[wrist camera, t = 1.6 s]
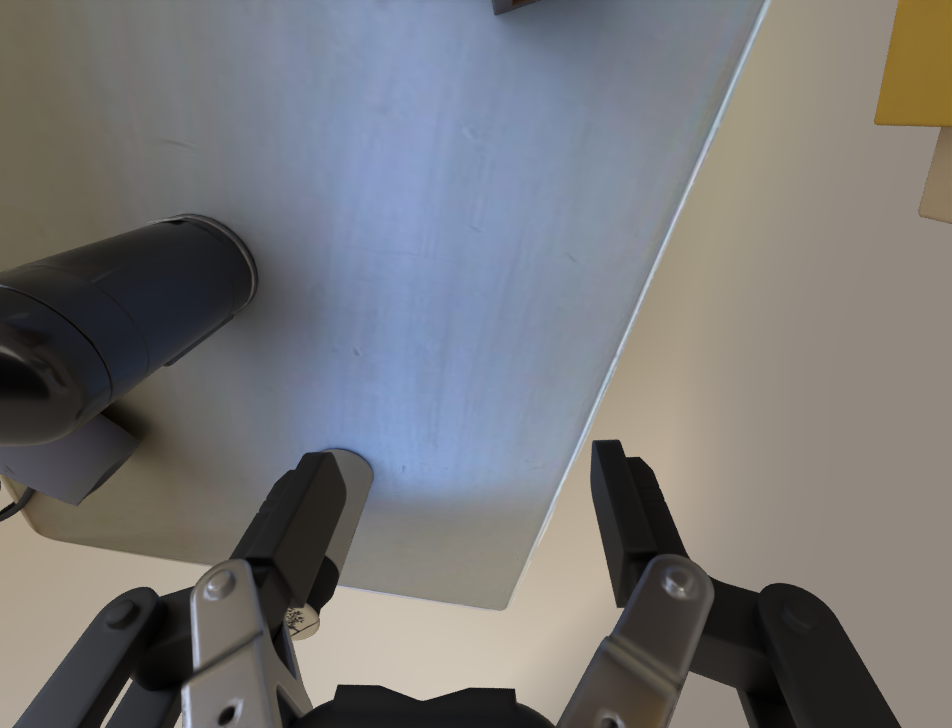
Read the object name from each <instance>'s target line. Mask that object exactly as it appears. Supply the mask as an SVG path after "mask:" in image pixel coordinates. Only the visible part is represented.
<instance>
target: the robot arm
mask: <svg viewBox="0 0 952 728" xmlns="http://www.w3.org/2000/svg"><path fill="white" fill-rule="evenodd" d="M161 221H162V222H161ZM152 222H159V223H156V224H153V225H150V226H146V227H143V228H139V229H136V230H133V231H130V232H127V233H123V234H120V235H117V236H114V237H111V238H108V239H104V240H101V241H98V242H95V243H92V244H89V245H85V246H82V247H79V248H76V249H73V250H69V251H66V252H63V253H60V254H57V255H54V256H50V257H47V258H44V259H41V260H38V261H35V262H31V263H28V264H25V265H22V266H19V267H16V268H13V269H10V270H7V271H3V272H0V446H34V445H41V444H46V443H50V442H53V441H56V440H59V439H61V438H64V437H66V436H68V435H70V434H71V433H73V432H75V431H76V430H78V429H79V428H81V427H82V426H83V425H85V424H86V423H87V422H89V421H90V420H91V419H93V418H94V417H95V416H97V415H98V414H99V413H101V412H102V411H103V410H104V409H106V408H107V407H108V406H110V405H111V404H112V403H114V402H115V401H116V400H118V399H119V398H120V397H122V396H123V395H124V394H126V393H127V392H128V391H130V390H131V389H132V388H134V387H135V386H136V385H137V384H139V383H140V382H142V381H143V380H144V379H146V378H147V377H148V376H150V375H151V374H152V373H154V372H155V371H156V370H158V369H159V368H160V367H162V366H170V365H172V364H174V363H175V362H176V361H178V360H179V359H180V358H182V357H183V356H184V355H185V354H187V353H188V352H189V351H191V350H192V349H193V348H195V347H196V346H197V345H199V344H200V343H201V342H203V341H204V340H205V339H206V338H208V337H209V336H210V335H212V334H213V333H214V332H216V331H217V330H218V329H220V328H221V327H222V326H224V325H225V324H226V323H227V322H229V321H230V320H231V319H233V316H234V313H236V312H238V311H239V310H241V309H242V308H243V307H245V306H246V305H247V304H248V303H249V302H250V301H251V300H252V298H253V297H254V295H255V292H256V289H257V272H256V268H255V264H254V262H253V259H252V257H251V255H250V253H249V252H248V250H247V248H246V247H245V246H244V244H243V243H242V242H241V241H240V240H239V238H238V237H237V236H236V235H235V234H233V233H232V232H231V231H230V230H229V229H227V228H226V227H225V226H223V225H221V224H220V223H218V222H216V221H214V220H212V219H209V218H207V217H204V216H200V215H194V214H182V215H177V216H174V217H171V218H168V219H162V220H153V221H149V222H146V223H152ZM590 481H591V492H592V498H593V503H594V507H595V511H596V516H597V521H598V525H599V530H600V534H601V538H602V543H603V547H604V552H605V556H606V560H607V565H608V569H609V574H610V579H611V583H612V587H613V592H614V596H615V601H616V605H617V608H625V609H624V611H623V612H622V615H621V616H620V618H619V620H618V622H617V624H616V626H615V628H614V630H613V631H612V633H611V634H610V635H609V636H606V637H605V638H604V639H603V640H602V642H601V643H600V645H599V647H598V648H597V650H596V652H595V654H594V656H593V658H592V660H591V661H590V663H589V665H588V667H587V669H586V671H585V673H584V675H583V676H582V678H581V680H580V682H579V684H578V686H577V688H576V689H575V692H574V693H573V695H572V697H571V699H570V701H569V703H568V704H567V706H566V708H565V710H564V712H563V714H562V716H561V718H560V720H559V721H558V723H557V725H556V726H554V725H553V724H552V723H551V722H550V721H549V720H548V719H547V718H545V717H544V716H543V715H541V714H540V713H538V712H537V711H535V710H533V709H531V708H530V707H528V706H526V705H523V704H520V703H517V701H516V694H515V689H508V688H507V689H506V688H467V689H464V690H460V691H457V692H453V693H450V694H446V695H443V696H440V697H437V698H433V699H429V700H425V701H420V700H416V699H414V698H411V697H409V696H406V695H403V694H401V693H398V692H396V691H393V690H390V689H387V688H385V687H382V686H380V685H338V686H337V689H336V693H335V696H334V699H333V700H331V701H328V702H326V703H324V704H322V705H320V706H318V707H316V708H314V709H313V706H312V704H311V702H310V699H309V697H308V695H307V693H306V691H305V688H304V685H303V682H302V678H301V674H300V670H299V666H298V662H297V658H296V655H295V650H294V647H293V643H292V639H291V635H290V631H289V627H288V623H287V621H286V619H285V618H284V616H285V614H286V611H287V609H288V608H304V606H305V603H306V601H307V598H308V596H309V593H310V591H311V588H312V586H313V583H314V581H315V578H316V576H317V573H318V571H319V568H320V566H321V563H322V561H323V558H324V556H325V553H326V551H327V548H328V546H329V543H330V541H331V538H332V536H333V533H334V531H335V528H336V526H337V523H338V521H339V518H340V516H341V513H342V511H343V508H344V506H345V503H346V497H347V490H346V485H345V482H344V479H343V477H342V474H341V472H340V469H339V467H338V464H337V461H336V459H335V456H334V455H333V453H332V452H312V453H306V454H304V455H303V457H302V458H301V460H300V462H299V464H298V465H297V467H296V469H295V470H289V471H288V472H287V473H286V474H285V475H284V476H282V477H281V478H280V479H279V480H278V481H277V482H276V483H275V484H274V486H273V488H272V489H271V491H270V493H269V494H268V496H267V499H266V501H264V502H263V504H262V506H261V507H260V509H259V513H257V514H256V516H255V517H254V519H253V521H252V522H251V524H250V525H249V527H248V529H247V530H246V532H245V534H244V535H243V537H242V539H241V540H240V542H239V544H238V545H237V547H236V548H235V550H234V552H233V553H232V555H231V557H230V558H229V560H226V561H223V562H221V563H219V564H217V565H215V566H214V567H212V568H211V569H210V570H208V571H207V572H206V573H205V574H204V575H203V576H202V577H201V578H200V579H199V580H198V582H197V583H196V585H195V586H193V587H189V588H186V589H183V590H180V591H177V592H174V593H170V594H167V595H164V596H161V597H159V596H158V595H157V593H156V592H155V591H154V590H153V589H151V588H149V587H139V588H135V589H132V590H129V591H127V592H125V593H123V594H121V595H120V596H118V597H116V598H115V599H114V600H112V601H111V602H110V603H109V604H107V605H106V606H105V607H104V608H103V609H102V610H101V611H100V612H99V614H98V615H97V616H96V617H95V618H94V620H93V621H92V622H91V624H90V625H89V627H88V628H87V629H86V630H85V632H84V633H83V634H82V636H81V637H80V638H79V640H78V641H77V643H76V644H75V645H74V647H73V648H72V649H71V650H70V652H69V653H68V654H67V656H66V657H65V659H64V660H63V661H62V662H61V664H60V665H59V666H58V668H57V669H56V670H55V672H54V673H53V674H52V676H51V677H50V678H49V680H48V681H47V683H46V684H45V685H44V687H43V688H42V689H41V690H40V692H39V693H38V695H37V696H36V697H35V698H34V700H33V701H32V702H31V704H30V705H29V707H28V708H27V709H26V710H25V712H24V713H23V714H22V716H21V717H20V718H19V720H18V721H17V722H16V724H15V725H14V727H13V728H100V726H101V724H102V722H103V720H104V718H105V716H106V715H107V713H108V712H109V710H110V708H111V707H112V705H113V703H114V702H115V700H116V698H117V697H118V695H119V693H120V692H121V690H122V689H123V687H124V685H125V684H126V682H127V680H128V679H129V677H130V678H131V679H132V680H133V682H132V683H131V685H130V687H129V688H128V690H127V692H126V694H125V695H124V697H123V698H122V700H121V702H120V703H119V705H118V707H117V708H116V710H115V712H114V713H113V715H112V717H111V719H110V720H109V722H108V723H107V725H106V727H105V728H174V726H175V724H176V722H177V720H178V717H179V715H180V713H181V711H182V728H668V727H669V724H670V721H671V718H672V716H673V713H674V710H675V707H676V705H677V702H678V699H679V697H680V694H681V691H682V688H683V686H684V683H685V680H686V677H687V675H688V672H689V671H691V672H694V673H696V674H699V675H702V676H704V677H707V678H710V679H713V680H715V681H718V682H720V683H723V684H726V685H729V686H731V687H734V688H736V689H737V692H738V695H739V698H740V701H741V704H742V707H743V710H744V713H745V715H746V718H747V721H748V724H749V727H750V728H901V726H900V725H899V723H898V721H897V719H896V718H895V716H894V714H893V712H892V711H891V709H890V707H889V706H888V704H887V702H886V701H885V699H884V697H883V695H882V694H881V692H880V691H879V689H878V687H877V685H876V684H875V682H874V680H873V679H872V677H871V675H870V673H869V672H868V670H867V668H866V666H865V665H864V663H863V662H862V660H861V658H860V656H859V655H858V653H857V651H856V649H855V648H854V646H853V644H852V643H851V641H850V640H849V637H848V636H847V634H846V632H845V631H844V629H843V627H842V626H841V624H840V622H839V620H838V619H837V617H836V616H835V614H834V613H833V612H832V611H831V609H830V608H829V607H828V606H827V605H826V604H825V603H824V602H823V601H821V600H820V599H819V598H818V597H816V596H815V595H813V594H812V593H810V592H808V591H806V590H804V589H802V588H800V587H797V586H794V585H790V584H785V583H775V584H770V585H768V586H766V587H765V588H764V589H763V590H762V591H761V592H760V593H757V592H754V591H750V590H747V589H743V588H740V587H736V586H733V585H729V584H726V583H723V582H720V581H718V580H716V579H714V578H712V577H710V576H709V575H707V574H706V572H705V571H704V570H703V569H702V568H701V567H700V566H699V565H697V564H696V563H694V562H693V561H692V560H691V559H690V558H689V556H688V554H687V553H686V550H685V548H684V546H683V543H682V541H681V538H680V536H679V533H678V531H677V528H676V526H675V524H674V521H673V519H672V516H671V514H670V511H669V509H668V506H667V504H666V502H665V501H664V497H663V494H662V492H661V489H659V484H658V482H657V479H656V477H655V474H654V472H653V470H652V469H651V468H650V467H649V466H648V465H647V464H646V463H645V462H644V461H643V460H642V459H641V458H640V457H626V456H625V454H624V451H623V448H622V445H621V442H620V441H619V440H594V441H593V442H592V456H591V474H590ZM0 489H1V482H0ZM34 491H35V489H32V488H30V487H27V489H26V491H25V492H24V494H23V496H22V498H21V499H20V501H19V502H18V503H17V504H15V502H12V503H11V504H9V505H8V506H6V507H5V508H4V509H2V510H1V511H0V522H1V521H3V520H5V519H7V518H9V517H10V516H12V515H14V514H15V513H17V512H18V511H19V510H21V509H22V508H23V507H24V506H25V504H26V503H27V502H28V501H29V499H30V498H31V496H32V494H33V493H34Z"/></svg>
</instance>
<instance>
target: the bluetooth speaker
mask: <svg viewBox="0 0 952 728" xmlns="http://www.w3.org/2000/svg"><path fill="white" fill-rule="evenodd" d="M140 444H141V442H139V441H138V440H137V439H136V438H134V437H133V436H132V435H131V434H129V433H128V432H127V431H125V430H124V429H123V428H121V427H120V426H118V425H117V424H115V423H114V422H112V421H111V420H109V419H108V418H106V417H105V416H103V415H102V414H100V413H99V414H98V415H97V416H95V417H94V418H93V419H91V420H90V421H89V422H87V423H86V424H85V425H83V426H82V427H81V428H79V429H78V430H76V431H75V432H73V433H71V434H70V435H68V436H66V437H64V438H61V439H59V440H56V441H53V442H50V443H46V444H41V445H34V446H0V474H2V475H4V476H6V477H8V478H11V479H13V480H15V481H17V482H19V483H22V484H24V485H26V486H28V487H30V488H32V489H35V490H37V491H39V492H41V493H44V494H46V495H48V496H50V497H53V498H55V499H58V500H60V501H63V502H66V503H69V504H72V505H75V506H78V505H79V504H80V503H81V501H82V500H83V499H85V498H86V497H87V496H88V495H89V494H91V493H92V492H94V491H95V490H97V489H98V488H99V487H100V486H101V485H102V484H103V483H105V482H106V481H107V480H108V479H109V478H110V477H111V476H112V475H113V474H114V473H115V472H116V471H117V470H118V469H119V468H120V467H121V466H122V465H123V464H124V463H125V462H126V461H127V460H128V458H129V457H130V456H131V454H132V453H133V451H134V450H135V449H136V448H137V447H138V446H139V445H140Z"/></svg>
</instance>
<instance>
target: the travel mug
mask: <svg viewBox="0 0 952 728" xmlns="http://www.w3.org/2000/svg"><path fill="white" fill-rule="evenodd" d="M322 452H332V453H333V455H334V456H335V459H336V461H337V464H338V467H339V469H340V472H341V474H342V477H343V479H344V482H345V485H346V490H347V497H346V503H345V506H344V508H343V511H342V513H341V516H340V518H339V521H338V523H337V526H336V528H335V531H334V533H333V536H332V538H331V541H330V543H329V546H328V548H327V551H326V553H325V556H324V558H323V561H322V563H321V566H320V568H319V571H318V573H317V576H316V578H315V581H314V583H313V586H312V588H311V591H310V593H309V596H308V598H307V601H306V603H305V606H304V608H288V609H287V611H286V614H285V616H284V618H285V619H286V621H287V623H288V627H289V631H290V635H291V639H292V641H295V640H302V639H306V638H308V637H310V636H312V635H313V634H315V633H316V632H317V630H318V628H319V626H320V619H319V614H320V610H321V608H322V607H323V606H324V605H325V604H326V603H327V602H328V601H329V600H330V599H331V598H332V596H333V594H334V591H335V588H336V585H337V582H338V580H339V577H340V574H341V571H342V568H343V565H344V562H345V559H346V557H347V554H348V551H349V548H350V545H351V542H352V539H353V536H354V534H355V531H356V528H357V525H358V522H359V519H360V516H361V513H362V511H363V508H364V505H365V502H366V499H367V496H368V493H369V490H370V488H371V485H372V482H373V472H372V470H371V468H370V466H369V465H368V463H367V462H366V461H365V460H363V459H362V458H361V457H359V456H358V455H356V454H354V453H351V452H349V451H345V450H339V449H330V450H325V451H322Z"/></svg>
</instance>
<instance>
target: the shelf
mask: <svg viewBox="0 0 952 728" xmlns="http://www.w3.org/2000/svg"><path fill="white" fill-rule="evenodd" d="M537 1H540V0H492V3H493V9H494V14H495V15H498V14H501V13H504V12H507V11H510V10H513V9H516V8H519V7H522V6H525V5H528V4H531V3H534V2H537Z"/></svg>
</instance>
